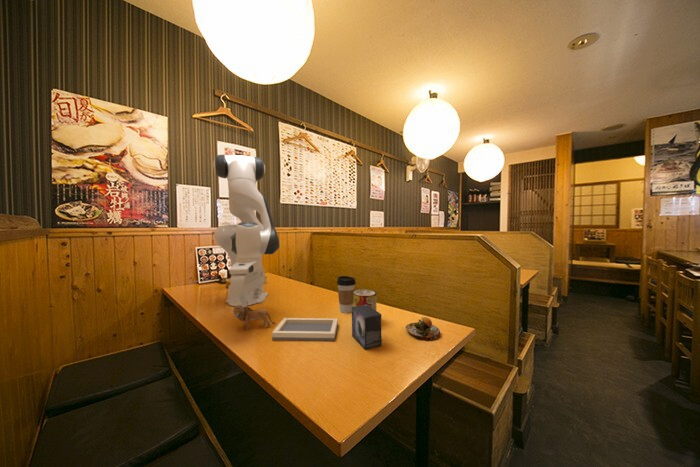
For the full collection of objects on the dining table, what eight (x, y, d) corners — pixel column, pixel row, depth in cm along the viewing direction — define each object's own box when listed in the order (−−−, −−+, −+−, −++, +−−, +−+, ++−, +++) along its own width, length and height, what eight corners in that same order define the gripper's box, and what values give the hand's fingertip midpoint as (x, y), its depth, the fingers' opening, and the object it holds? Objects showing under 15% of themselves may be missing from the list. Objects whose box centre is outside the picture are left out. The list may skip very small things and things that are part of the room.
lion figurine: (232, 332, 88) (232, 308, 88) (234, 326, 93) (234, 303, 93) (275, 327, 93) (274, 303, 92) (275, 322, 98) (274, 299, 97)
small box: (350, 336, 85) (350, 306, 85) (367, 332, 88) (367, 303, 87) (364, 350, 75) (364, 316, 75) (382, 346, 78) (382, 313, 78)
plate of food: (409, 324, 95) (409, 305, 95) (441, 330, 90) (441, 310, 90) (401, 337, 84) (401, 316, 84) (438, 344, 79) (438, 322, 79)
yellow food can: (350, 325, 94) (350, 294, 93) (357, 317, 102) (357, 288, 102) (373, 328, 91) (373, 296, 90) (378, 320, 99) (378, 290, 99)
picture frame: (284, 324, 95) (284, 317, 95) (337, 324, 94) (337, 318, 94) (272, 340, 82) (272, 332, 82) (334, 341, 81) (334, 333, 81)
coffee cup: (344, 306, 116) (344, 274, 115) (359, 310, 111) (359, 277, 110) (333, 311, 109) (333, 278, 108) (348, 315, 104) (348, 280, 103)
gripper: (253, 262, 102) (254, 295, 102) (226, 270, 81) (227, 311, 81) (268, 261, 101) (269, 294, 102) (245, 269, 81) (246, 311, 81)
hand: (250, 302), depth 91 cm, fingers open, 8 cm apart
